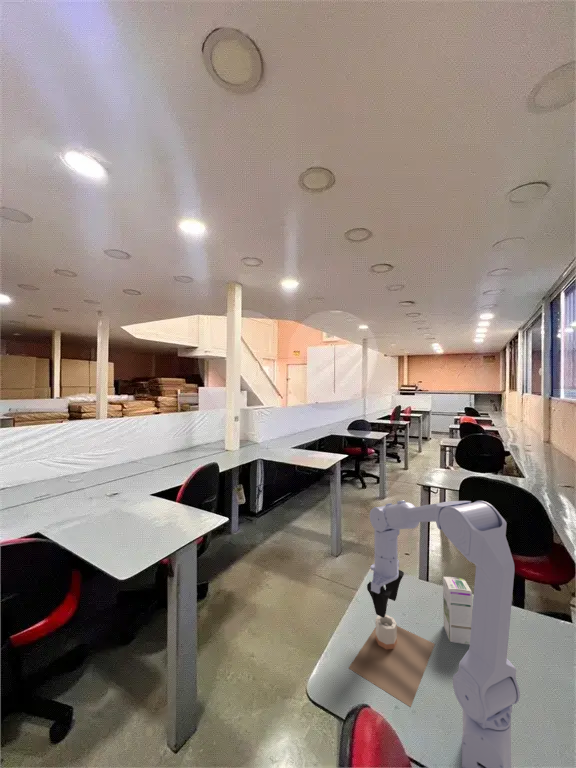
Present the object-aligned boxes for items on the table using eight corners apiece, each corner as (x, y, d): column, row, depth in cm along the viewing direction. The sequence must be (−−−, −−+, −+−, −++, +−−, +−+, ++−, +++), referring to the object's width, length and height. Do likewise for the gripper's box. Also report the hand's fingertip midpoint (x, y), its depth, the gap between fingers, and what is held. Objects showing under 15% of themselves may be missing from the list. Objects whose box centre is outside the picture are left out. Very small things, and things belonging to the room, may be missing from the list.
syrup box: (474, 649, 78) (473, 591, 78) (449, 645, 79) (448, 588, 79) (466, 632, 83) (465, 578, 84) (442, 628, 84) (442, 575, 85)
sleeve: (392, 652, 75) (392, 631, 76) (373, 642, 78) (373, 622, 79) (398, 640, 79) (398, 620, 79) (380, 630, 82) (380, 612, 82)
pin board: (410, 712, 62) (410, 684, 62) (348, 672, 71) (348, 648, 71) (434, 647, 78) (434, 626, 78) (381, 621, 87) (381, 602, 87)
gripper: (381, 538, 87) (381, 586, 87) (359, 560, 76) (359, 615, 76) (406, 546, 83) (407, 597, 83) (387, 570, 72) (387, 629, 71)
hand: (386, 606), depth 79 cm, fingers open, 7 cm apart
